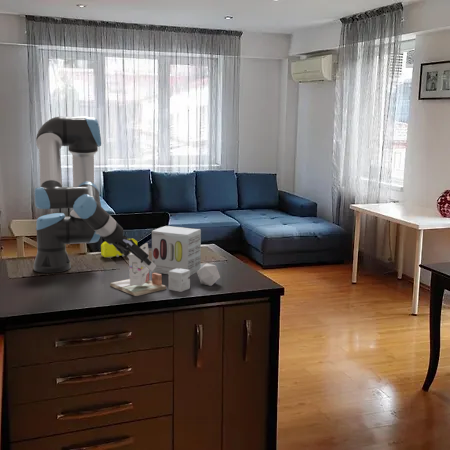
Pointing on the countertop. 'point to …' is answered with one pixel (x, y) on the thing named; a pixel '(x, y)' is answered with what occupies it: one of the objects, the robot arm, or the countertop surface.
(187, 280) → the skincare box
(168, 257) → the supplement box
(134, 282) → the ink cartridge box
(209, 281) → the die
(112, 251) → the yellow toy chassis
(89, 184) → the robot arm
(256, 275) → the countertop surface
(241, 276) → the countertop surface
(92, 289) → the countertop surface
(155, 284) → the docking board
